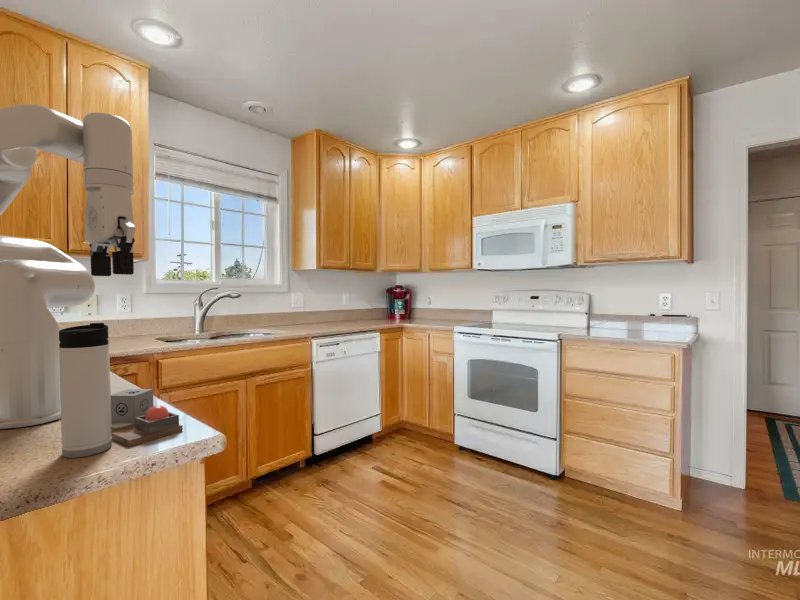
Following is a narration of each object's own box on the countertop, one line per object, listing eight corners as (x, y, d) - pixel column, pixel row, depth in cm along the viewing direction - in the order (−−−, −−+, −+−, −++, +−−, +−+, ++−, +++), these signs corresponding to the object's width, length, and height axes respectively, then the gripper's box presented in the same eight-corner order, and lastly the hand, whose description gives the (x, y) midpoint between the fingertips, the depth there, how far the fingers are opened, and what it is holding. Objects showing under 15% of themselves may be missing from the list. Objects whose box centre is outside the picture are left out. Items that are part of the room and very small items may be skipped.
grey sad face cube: (135, 423, 74) (134, 395, 74) (109, 422, 74) (108, 395, 74) (153, 414, 79) (152, 389, 79) (129, 414, 79) (128, 389, 79)
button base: (92, 429, 74) (91, 413, 74) (143, 417, 81) (143, 402, 81) (129, 446, 66) (128, 428, 66) (182, 431, 73) (182, 414, 73)
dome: (141, 428, 71) (141, 406, 71) (163, 422, 74) (162, 401, 74) (151, 431, 69) (150, 409, 69) (173, 426, 72) (172, 404, 72)
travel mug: (122, 441, 68) (118, 322, 68) (93, 458, 61) (89, 325, 61) (83, 442, 68) (80, 323, 67) (51, 459, 61) (47, 326, 61)
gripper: (68, 187, 78) (70, 276, 79) (105, 171, 68) (108, 273, 69) (112, 194, 84) (115, 277, 85) (152, 180, 75) (155, 274, 75)
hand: (111, 275), depth 77 cm, fingers open, 9 cm apart
